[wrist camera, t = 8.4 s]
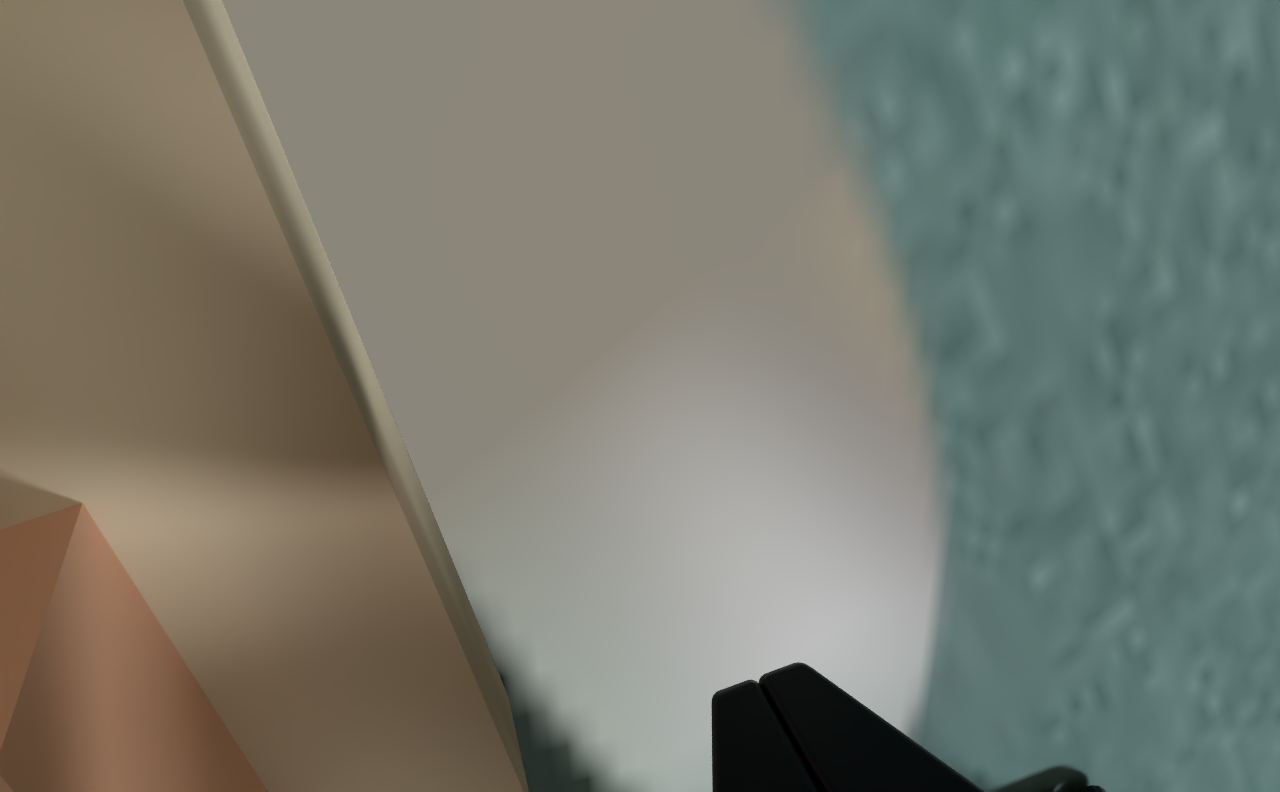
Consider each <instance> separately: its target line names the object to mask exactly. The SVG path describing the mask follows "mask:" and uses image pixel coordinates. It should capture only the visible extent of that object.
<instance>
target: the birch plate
mask: <svg viewBox="0 0 1280 792" xmlns="http://www.w3.org/2000/svg"><path fill="white" fill-rule="evenodd" d="M81 503H83V504H84V506H85V507H86V509H87V511H88V512H89V514H90V515H91V517H92V518H93V520H94V522H95V523H96V525H97V526H98V528H99V529H100V531H101V532H102V534H103V536H104V537H105V539H106V540H107V542H108V543H109V545H110V547H111V548H112V550H113V551H114V553H115V554H116V556H117V557H118V559H119V561H120V562H121V564H122V565H123V567H124V568H125V570H126V571H127V573H128V575H129V576H130V578H131V579H132V581H133V582H134V584H135V586H136V587H137V589H138V590H139V592H140V593H141V595H142V596H143V598H144V600H145V601H146V603H147V604H148V606H149V607H150V609H151V610H152V612H153V614H154V615H155V617H156V618H157V620H158V621H159V623H160V625H161V626H162V628H163V629H164V631H165V632H166V634H167V635H168V637H169V639H170V640H171V642H172V643H173V645H174V646H175V648H176V649H177V651H178V653H179V654H180V656H181V657H182V659H183V660H184V662H185V664H186V665H187V667H188V668H189V670H190V671H191V673H192V674H193V676H194V678H195V679H196V681H197V682H198V684H199V685H200V687H201V688H202V690H203V692H204V693H205V695H206V696H207V698H208V699H209V701H210V703H211V704H212V706H213V707H214V709H215V710H216V712H217V713H218V715H219V717H220V718H221V720H222V721H223V723H224V724H225V726H226V728H227V729H228V731H229V732H230V734H231V735H232V737H233V738H234V740H235V742H236V743H237V745H238V746H239V748H240V749H241V751H242V752H243V754H244V756H245V757H246V759H247V760H248V762H249V763H250V765H251V767H252V768H253V770H254V771H255V773H256V774H257V776H258V777H259V779H260V781H261V782H262V784H263V785H264V787H265V788H266V790H267V791H268V792H529V789H528V785H527V780H526V776H525V771H524V766H523V762H522V757H521V752H520V748H519V743H518V738H517V734H516V729H515V725H514V720H513V715H512V711H511V706H510V701H509V697H508V695H507V692H506V690H505V687H504V685H503V682H502V680H501V678H500V675H499V673H498V670H497V668H496V665H495V663H494V661H493V658H492V656H491V653H490V651H489V648H488V646H487V644H486V641H485V639H484V636H483V634H482V631H481V629H480V627H479V624H478V622H477V619H476V617H475V614H474V612H473V610H472V607H471V605H470V602H469V600H468V597H467V595H466V593H465V590H464V588H463V585H462V583H461V580H460V578H459V576H458V573H457V571H456V568H455V566H454V563H453V561H452V559H451V556H450V554H449V551H448V549H447V546H446V544H445V541H444V539H443V537H442V534H441V532H440V529H439V527H438V524H437V522H436V520H435V517H434V515H433V512H432V510H431V507H430V505H429V503H428V500H427V498H426V495H425V493H424V491H423V488H422V486H421V483H420V481H419V478H418V476H417V473H416V471H415V469H414V466H413V464H412V461H411V459H410V456H409V454H408V452H407V449H406V447H405V444H404V442H403V439H402V437H401V435H400V432H399V430H398V427H397V425H396V422H395V420H394V418H393V415H392V413H391V410H390V408H389V405H388V403H387V401H386V398H385V396H384V393H383V391H382V389H381V386H380V384H379V381H378V379H377V376H376V374H375V371H374V369H373V367H372V364H371V362H370V359H369V357H368V354H367V352H366V349H365V347H364V345H363V342H362V340H361V337H360V335H359V333H358V330H357V328H356V325H355V323H354V320H353V318H352V315H351V313H350V311H349V308H348V306H347V303H346V301H345V298H344V296H343V294H342V291H341V289H340V286H339V284H338V282H337V279H336V277H335V274H334V272H333V269H332V267H331V264H330V262H329V260H328V257H327V255H326V252H325V250H324V247H323V245H322V243H321V240H320V238H319V235H318V233H317V230H316V228H315V226H314V223H313V221H312V218H311V216H310V213H309V211H308V209H307V206H306V204H305V201H304V199H303V196H302V194H301V191H300V189H299V187H298V184H297V182H296V179H295V177H294V174H293V172H292V170H291V167H290V165H289V162H288V160H287V157H286V155H285V153H284V150H283V148H282V145H281V143H280V140H279V138H278V136H277V133H276V131H275V129H274V126H273V124H272V121H271V119H270V116H269V114H268V111H267V109H266V106H265V104H264V102H263V99H262V97H261V94H260V92H259V89H258V87H257V85H256V82H255V80H254V77H253V75H252V72H251V70H250V68H249V65H248V63H247V60H246V58H245V55H244V53H243V50H242V48H241V46H240V43H239V41H238V39H237V36H236V34H235V31H234V29H233V26H232V24H231V22H230V19H229V17H228V14H227V12H226V9H225V7H224V4H223V2H222V0H0V529H3V528H7V527H10V526H13V525H16V524H19V523H22V522H25V521H28V520H31V519H34V518H37V517H41V516H44V515H47V514H50V513H53V512H56V511H59V510H62V509H65V508H68V507H71V506H75V505H78V504H81Z"/></svg>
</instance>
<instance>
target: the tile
mask: <svg viewBox="0 0 1280 792" xmlns="http://www.w3.org/2000/svg"><path fill="white" fill-rule="evenodd" d="M0 792H268V791H267V790H266V788H265V787H264V785H263V784H262V782H261V781H260V779H259V777H258V776H257V774H256V773H255V771H254V770H253V768H252V767H251V765H250V763H249V762H248V760H247V759H246V757H245V756H244V754H243V752H242V751H241V749H240V748H239V746H238V745H237V743H236V742H235V740H234V738H233V737H232V735H231V734H230V732H229V731H228V729H227V728H226V726H225V724H224V723H223V721H222V720H221V718H220V717H219V715H218V713H217V712H216V710H215V709H214V707H213V706H212V704H211V703H210V701H209V699H208V698H207V696H206V695H205V693H204V692H203V690H202V688H201V687H200V685H199V684H198V682H197V681H196V679H195V678H194V676H193V674H192V673H191V671H190V670H189V668H188V667H187V665H186V664H185V662H184V660H183V659H182V657H181V656H180V654H179V653H178V651H177V649H176V648H175V646H174V645H173V643H172V642H171V640H170V639H169V637H168V635H167V634H166V632H165V631H164V629H163V628H162V626H161V625H160V623H159V621H158V620H157V618H156V617H155V615H154V614H153V612H152V610H151V609H150V607H149V606H148V604H147V603H146V601H145V600H144V598H143V596H142V595H141V593H140V592H139V590H138V589H137V587H136V586H135V584H134V582H133V581H132V579H131V578H130V576H129V575H128V573H127V571H126V570H125V568H124V567H123V565H122V564H121V562H120V561H119V559H118V557H117V556H116V554H115V553H114V551H113V550H112V548H111V547H110V545H109V543H108V542H107V540H106V539H105V537H104V536H103V534H102V532H101V531H100V529H99V528H98V526H97V525H96V523H95V522H94V520H93V518H92V517H91V515H90V514H89V512H88V511H87V509H86V507H85V506H84V504H83V503H81V504H78V505H75V506H71V507H68V508H65V509H62V510H59V511H56V512H53V513H50V514H47V515H44V516H41V517H37V518H34V519H31V520H28V521H25V522H22V523H19V524H16V525H13V526H10V527H7V528H3V529H0Z"/></svg>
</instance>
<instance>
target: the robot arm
mask: <svg viewBox="0 0 1280 792" xmlns="http://www.w3.org/2000/svg"><path fill="white" fill-rule="evenodd" d="M712 770H713V771H712V773H713V792H984V791H983V790H981V789H980V788H979V787H977V786H976V785H974V784H973V783H972V782H970V781H969V780H967V779H966V778H965V777H963V776H962V775H960V774H959V773H958V772H956V771H955V770H954V769H952V768H951V767H949V766H948V765H947V764H945V763H944V762H942V761H941V760H940V759H938V758H937V757H935V756H934V755H933V754H931V753H930V752H928V751H927V750H926V749H924V748H923V747H921V746H920V745H919V744H917V743H916V742H914V741H913V740H912V739H910V738H909V737H907V736H906V735H905V734H903V733H902V732H901V731H899V730H898V729H896V728H895V727H894V726H892V725H891V724H889V723H888V722H886V721H885V720H884V719H882V718H881V717H879V716H878V715H877V714H875V713H874V712H873V711H871V710H870V709H868V708H867V707H866V706H864V705H863V704H861V703H860V702H859V701H857V700H856V699H854V698H853V697H852V696H850V695H849V694H847V693H846V692H845V691H843V690H842V689H840V688H839V687H838V686H836V685H835V684H834V683H832V682H831V681H829V680H828V679H827V678H825V677H824V676H822V675H821V674H820V673H818V672H817V671H815V670H814V669H813V668H811V667H809V666H808V665H806V664H804V663H799V662H798V663H793V664H790V665H788V666H785V667H782V668H780V669H777V670H774V671H771V672H769V673H766V674H764V675H763V676H762V677H761V678H760V680H759V683H757V682H756V681H754V680H747V681H744V682H742V683H739V684H736V685H733V686H731V687H728V688H726V689H723V690H720V691H718V692H716V693H715V694H714V695H713V698H712ZM1072 792H1106V791H1105V790H1104V789H1103V788H1101V787H1100V786H1092V785H1091V786H1087V787H1083V788H1080V789H1077V790H1075V791H1072Z"/></svg>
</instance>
